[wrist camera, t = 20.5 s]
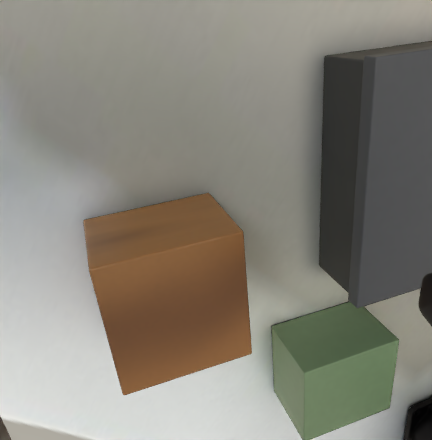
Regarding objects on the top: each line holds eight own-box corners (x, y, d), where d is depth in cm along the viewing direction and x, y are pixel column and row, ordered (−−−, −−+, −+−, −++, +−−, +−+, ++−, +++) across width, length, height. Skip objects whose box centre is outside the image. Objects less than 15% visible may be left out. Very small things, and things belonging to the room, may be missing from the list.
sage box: (351, 363, 29) (389, 408, 26) (273, 391, 28) (304, 442, 24) (356, 299, 27) (399, 339, 23) (271, 325, 25) (304, 373, 22)
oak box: (220, 299, 23) (252, 354, 19) (112, 330, 22) (123, 396, 18) (209, 192, 20) (243, 231, 16) (82, 219, 19) (88, 269, 15)
